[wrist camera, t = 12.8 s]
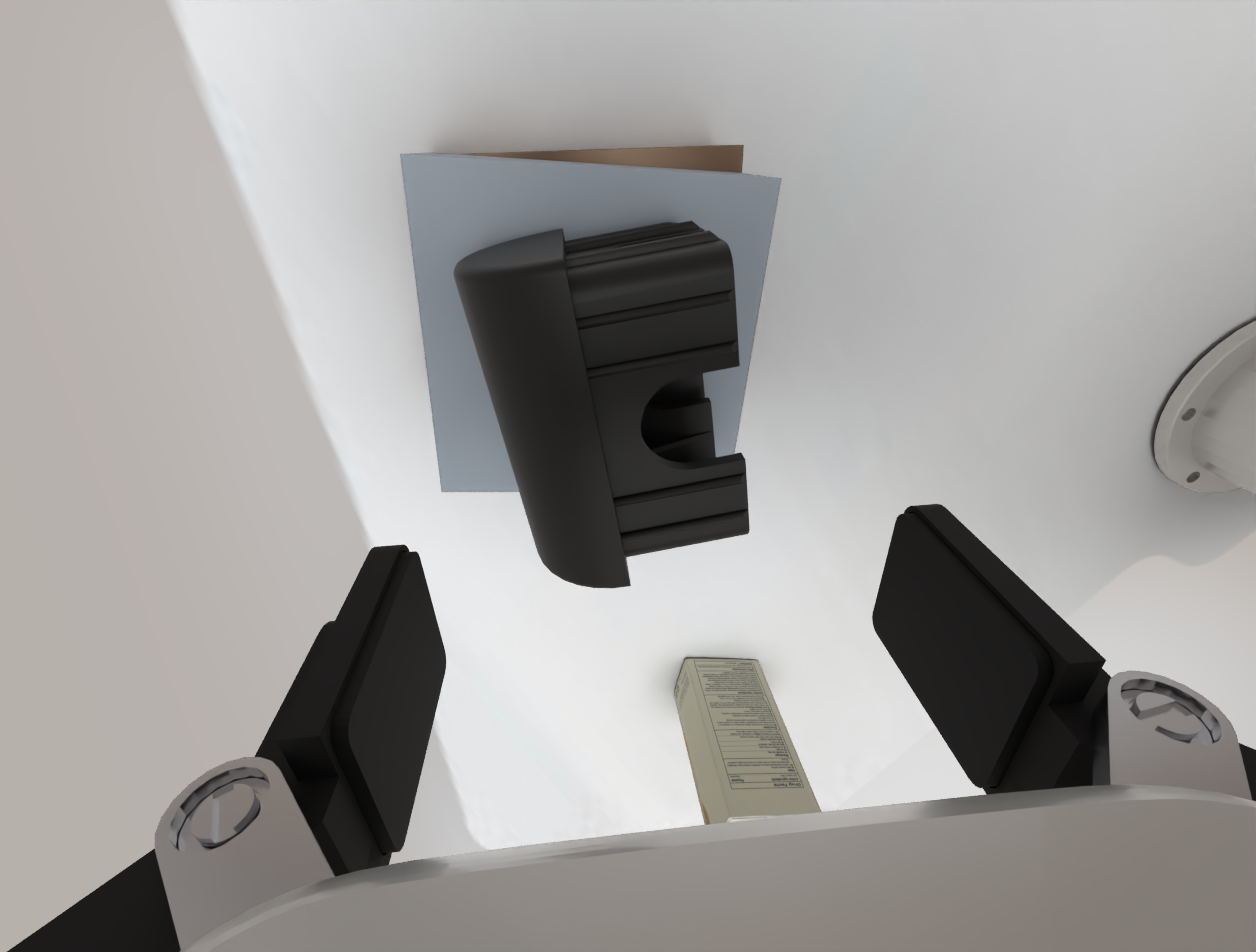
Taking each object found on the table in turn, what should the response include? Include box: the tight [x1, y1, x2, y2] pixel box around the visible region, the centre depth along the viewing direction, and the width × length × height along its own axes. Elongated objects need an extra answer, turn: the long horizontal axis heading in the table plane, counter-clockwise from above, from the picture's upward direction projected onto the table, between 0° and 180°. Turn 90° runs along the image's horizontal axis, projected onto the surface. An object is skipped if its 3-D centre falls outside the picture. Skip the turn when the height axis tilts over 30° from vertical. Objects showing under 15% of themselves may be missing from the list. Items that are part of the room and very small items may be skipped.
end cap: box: [453, 220, 749, 588], centre depth 18 cm, size 10×7×7 cm
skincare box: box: [674, 659, 821, 825], centre depth 40 cm, size 6×4×12 cm
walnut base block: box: [458, 145, 744, 173], centre depth 27 cm, size 13×13×5 cm
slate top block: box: [400, 153, 781, 492], centre depth 23 cm, size 12×12×5 cm
